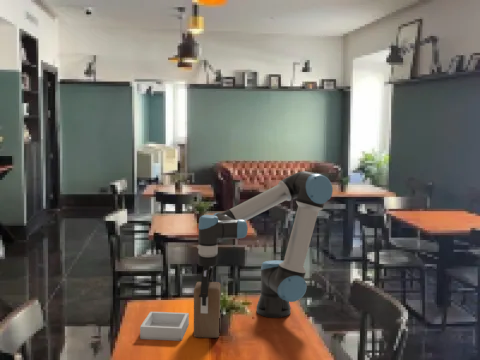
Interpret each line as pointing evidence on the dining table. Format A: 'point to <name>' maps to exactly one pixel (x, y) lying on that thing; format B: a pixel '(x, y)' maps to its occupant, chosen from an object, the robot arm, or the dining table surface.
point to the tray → (164, 326)
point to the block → (208, 322)
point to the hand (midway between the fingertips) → (206, 307)
